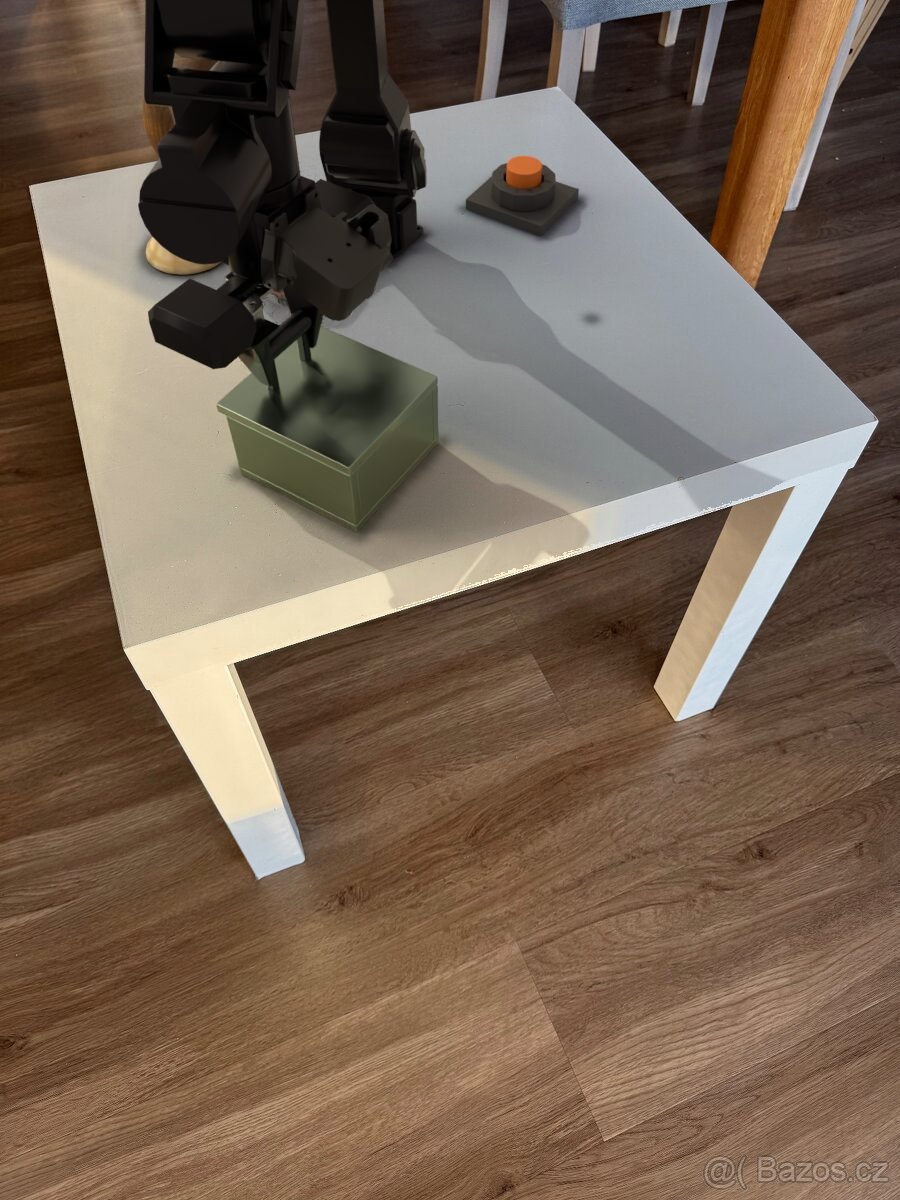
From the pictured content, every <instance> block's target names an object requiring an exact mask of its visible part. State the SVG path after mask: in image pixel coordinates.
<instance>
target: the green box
mask: <svg viewBox="0 0 900 1200" xmlns="http://www.w3.org/2000/svg"><path fill="white" fill-rule="evenodd" d="M226 420H227V424H228V428H229V433H230V436H231V439H232V440H231V441H232V444H233V448H234V451H235V455H236V460H237V463H238V467H239V471H240V474H241V475H243V476H244V477H247V478H249V479H250V480H252V481H254V482H256V483H257V484H260V485H262V486H264V487H266V488H268V489H270V490H272V491H274V492H275V493H278V494H280V495H282V496H283V497H285V498H288V499H290V500H291V501H294V502H295V503H298V504H299V505H302V506H303V507H305V508H307V509H309V510H311V511H313V512H315V513H317V514H319V515H321V516H323V517H325V518H327V519H329V520H331V521H332V522H335V523H337V524H339V525H340V526H343V527H345V528H347V529H349V530H350V531H353V532H355V533H358V532H359V531H360V530H361V529H362V528H363V527H364V526H365V525H366V523H367V522H368V521H369V520H370V519H371V518H372V517H373V516H374V514H376V512H377V511H378V510H379V509H380V508H381V507H382V506H383V505H384V504H385V503H386V501H388V499H389V498H390V497H391V496H392V495H393V494H394V493H395V491H396V490H397V489H398V488H399V487H400V486H401V485H402V484H403V483H404V482H405V480H407V478H408V477H409V476H410V475H412V473H413V472H414V470H415V469H416V468H417V467H418V466H419V465H420V464H421V463H422V461H424V460H425V459H426V457H428V455H429V454H430V453H431V452H432V451H433V450H434V449H435V448H436V446H437V445H438V444H439V386H438V384H437V385H436V386H435V387H434V388H433V389H432V390H431V391H430V392H429V394H428V395H427V396H426V397H425V398H424V399H423V400H422V401H421V402H420V403H419V404H418V405H417V406H416V407H415V408H414V409H413V410H412V411H411V412H410V413H409V414H408V415H407V416H406V418H405V419H404V420H403V421H402V422H401V423H400V424H399V425H398V426H397V427H396V428H395V429H394V430H393V431H392V432H391V433H390V434H389V435H388V436H387V437H386V438H385V439H384V440H383V442H382V443H381V444H380V445H379V446H378V447H377V448H376V449H375V450H374V451H373V452H372V453H371V454H370V455H369V456H368V457H367V458H366V459H365V460H364V461H363V462H362V463H361V464H360V466H359V467H358V468H357V469H356V470H355V471H354V472H353V473H352V474H351V475H347V474H345V473H343V472H341V471H339V470H337V469H335V468H333V467H331V466H329V465H327V464H325V463H323V462H321V461H319V460H317V459H315V458H313V457H310V456H308V455H306V454H304V453H302V452H300V451H298V450H296V449H294V448H292V447H290V446H288V445H286V444H284V443H282V442H280V441H278V440H276V439H274V438H271V437H269V436H267V435H265V434H263V433H261V432H259V431H257V430H255V429H253V428H251V427H249V426H247V425H245V424H243V423H241V422H239V421H237V420H234V419H232V418H230V417H228V416H226Z"/></svg>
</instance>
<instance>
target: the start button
mask: <svg viewBox="0 0 900 1200" xmlns="http://www.w3.org/2000/svg"><path fill="white" fill-rule="evenodd" d="M506 163H507V172H506V182H507V184H508V185H509V186H512V187H515V188H518V189H531V188H535V187H538V186H539V185H540V184H541V177H542V164H543V163H542V161H541V160H539V159H538V158H536V157H534V156H530V155H519V156H515V157H512V158H511V159H509V160H508V161H507V162H506Z"/></svg>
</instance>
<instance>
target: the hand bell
mask: <svg viewBox="0 0 900 1200" xmlns="http://www.w3.org/2000/svg"><path fill="white" fill-rule="evenodd" d="M142 91H143V92H142V93H143V94H144V86H143V88H142ZM142 97H143V99H142V113H141V114H142V115H141V116H142V121H143V126H144V129H145V133H146V135H147V138H148V141H149V143H150V145H151V147H152V149H153V150H154V153H155V154H156V157H157V160H158V159H159V158H160V157H159V153H158V143H159V142H160V140H161V139H162V137H163V136H164V135H165V134H166V132H168V131H170V130H171V129H172V128H173V127H174V125H175V120H174V116H173V113H172V111H171V109H170V107H164V106H154V105H147V104H146V102H145V99H144V95H143V96H142ZM145 258H146V260H147V261H148V263H149V265H151V266H152V267H153V268H155V269H156V270H158V271H161V272H162V273H163V272H164V273H167V274H172V275H180V276H181V275H192V274H199V273H202V272H205V271H208V270H211V269H213V268H215V267H217V266H218V265H219V264H221V262H218V263H215V264H196V263H192V262H189V261H186V260H183V259H181V258H179V257H177V256H175V255H173V254H172V253H170V252H169V251H167V250H166V249H165V248H163V247H162V246H161V245H160V244H159V243H158V242H157V241H156V240H155V239H154V238H153V237H152V236H151V237H150V239H149V240H148V242H147V244H146V248H145Z"/></svg>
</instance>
